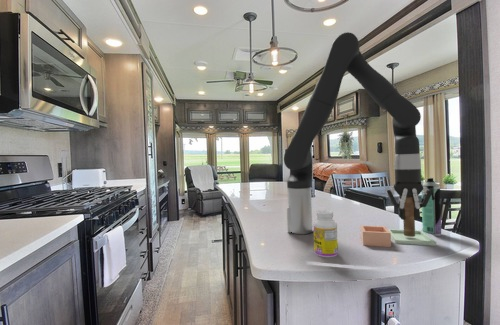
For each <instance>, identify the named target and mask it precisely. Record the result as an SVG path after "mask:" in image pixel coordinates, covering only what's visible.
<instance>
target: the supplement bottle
mask: <svg viewBox="0 0 500 325" xmlns="http://www.w3.org/2000/svg"><path fill="white" fill-rule="evenodd" d="M315 214H316V218H317V219H315V220H314V221H313V223H312V227H313V253H314V254H315V255H316V256H319V257H323V258H334V257H336V256H339V254H338V253H339V249H338V224H337V221H335V219H334V212H333V211H331V210H329V209H328V210H327V209H325V210H323V209H322V210H317V211H316V213H315Z"/></svg>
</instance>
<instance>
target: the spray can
mask: <svg viewBox="0 0 500 325" xmlns="http://www.w3.org/2000/svg"><path fill="white" fill-rule="evenodd" d="M422 186H423V188H425V189H429V190H432V191H433V193H432V195H431V197H430V199H429V201H428V203H427V205H426V207H422V208H421V212H422V213H421V217H422V220H421V221H422V222H421V224H422V231H423V232H424V233H425V234H430V235H432V236H434V237H441V236H442V207H441V206H442V205H441V202H442V201H441V185H440V184H438V183H436V181H435V180H434V177H433V178H432V177H430V178H427V180H426V181H425V182H424V183H422ZM422 197H423V191H421V198H422Z"/></svg>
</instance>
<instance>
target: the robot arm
mask: <svg viewBox="0 0 500 325" xmlns="http://www.w3.org/2000/svg"><path fill="white" fill-rule="evenodd" d="M346 72H348V73H349V74H350V75H351V76H352V78H354V79H355V80H356V81H357V82H358V83H359V84H360V85H361V86H362V88H363V89H364V90H365V91H366V92H367V94H368V95H369V96H370V97H371V98H372V99H373V101H374V102H375V103H376V104H377V105H378V106H379V107H380V108H381V109H382V110H384V111H387V113H388V114H389V115H390V116H391V117H392V131H393V137H394V165H393V168H394V185H393V187H391V188H387V189H385V192H386V195H387V197H388V198H389V201H390V203H391V205H392V206H394V207H396V208H398V209H397V210H398V211H397V212H398V213H397V214H398V217H399V218H400V219H401V220H402V221H403V220H405V214H404V209H403V208H404V203H405V200H406V197H413V198H414V213H415V221H418V219H420V216H421V215H420V209H422V207H426V205H427V203H428V201H429V199H430V197H431V195H432V193H433V191H432V190H429V189H425V188H423V186H422V185H423V182H422V161H421V160H422V159H421V153H420V152H421V151H420V150H421V149H420V139H419V138H418V136H417V130H416V128H417V127H416V126H417V125H418V124H419V123H420V121H421V117H422V115H421V112H420V110H419V109H418V107H417V106H416V105H415V104H413V103H412V102H411V101H410V100H409V99H407V98H406V97H404V96H403V95H402V94H401V93H400V92H399V91H398V90H397V89H396V87H395V86H394V85H393V84H392V83H391V82H390V81H389V80H388V79H387V78H386V77H385V76H384V75H382V74H381V73H380V72H378V71H377V70H376V69H375V68H373V67H372V66H371V65H370V64H369V63H368V62H367V60H366V59H365V57H364V56H363V54H362V52H361V50H360V42H359V39H358V37H357V36H356V35H355V34H354V33H352V32H348V31H347V32H343V33H341V34H339V35H338V36H336V38H334V40H333V41H332V44H331V46H330V50H329V53H328V56H327V59H326V62H325V64H324V68H323V71H322V72H321V75H320V76H319V78H318V81H317V82H316V85H315V87H314V89H313V91H312V92H311V95H310V97H309V100H308V101H307V105H306V107H305V110H304V112H303V115H302V117H301V119H300V122H299V124H298V127H297V129H296V132H295V134H294V136H293V138H292V139H291V141H290V143H289V144H288V147H287V148H286V151H285V152H284V155H283V163H284V166H285V167H286V168H287V169H288V170H289V176H288V179H287V182H286V186H287V188H286V189H287V192H286V193H287V208H286V222H287V224H286V225H287V233H291V232H292V233H291V234H295V235H296V234H297V235H305V234H306V235H307V234H311V233H312V232H313V207H312V206H313V204H312V202H313V201H312V200H313V199H312V181H313V157H312V154H311V151H310V150H311V147H312V145H313V142H314V140H315V139H316V137H317V135H318V134H319V132H320V131H321V130H322V129H323V127H325V125H326V123H327V122H328V121H329V118H330V116H331V114H332V112H333V110H334V108H335V105H336V102H337V100H338V96H339V93H340V88H341V85H342V81H343V78H344V76H345V73H346ZM422 191H423V197H422V196H421V199H420V200H419V195H420V194H422ZM395 193H396V194H397V195H398V201H397V200H396V199H395V196H394V195H395Z"/></svg>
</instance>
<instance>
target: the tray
mask: <svg viewBox="0 0 500 325" xmlns="http://www.w3.org/2000/svg"><path fill="white" fill-rule="evenodd" d="M387 229H388V230H389V232H390V233H391V240H392V241H393V242H394V243H395V244H399V245H400V244H401V245H414V246H415V245H418V246H419V245H420V246H433V247H434V246H435V247H436V246H437V241H436V240H434V239H433V238H431V236H429V235H428V233H425V232H423V230H420V229H419V230H418V229H417V230H416V229H415V236H414V237H409V236H405V235H404V229H393V228H387Z"/></svg>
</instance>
